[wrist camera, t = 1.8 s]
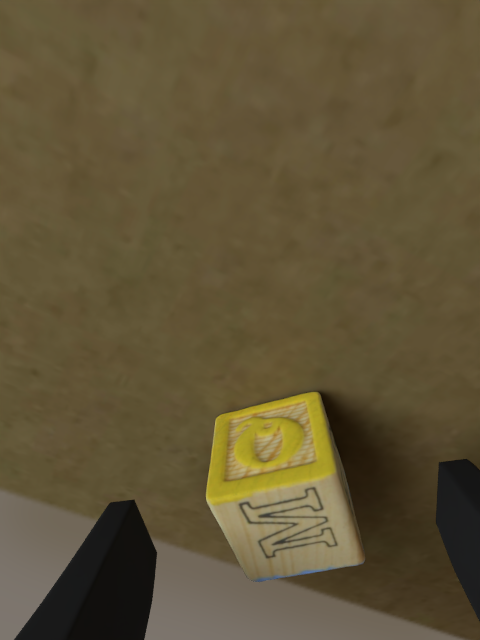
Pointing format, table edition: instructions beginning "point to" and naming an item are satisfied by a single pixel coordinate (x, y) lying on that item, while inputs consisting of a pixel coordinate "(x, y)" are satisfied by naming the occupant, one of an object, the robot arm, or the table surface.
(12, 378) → the table surface
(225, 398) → the table surface
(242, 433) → the alphabet block
